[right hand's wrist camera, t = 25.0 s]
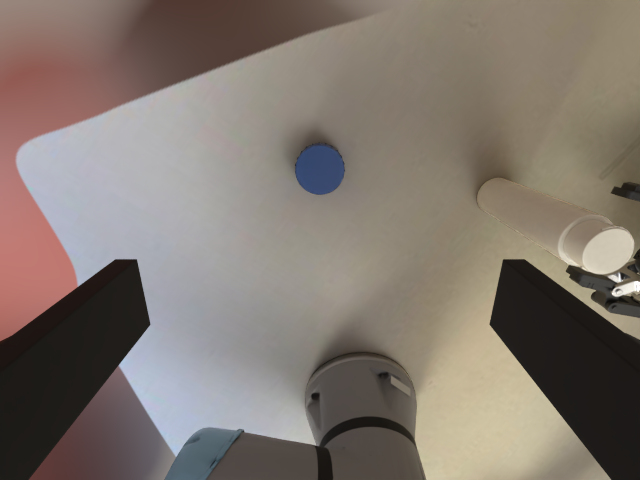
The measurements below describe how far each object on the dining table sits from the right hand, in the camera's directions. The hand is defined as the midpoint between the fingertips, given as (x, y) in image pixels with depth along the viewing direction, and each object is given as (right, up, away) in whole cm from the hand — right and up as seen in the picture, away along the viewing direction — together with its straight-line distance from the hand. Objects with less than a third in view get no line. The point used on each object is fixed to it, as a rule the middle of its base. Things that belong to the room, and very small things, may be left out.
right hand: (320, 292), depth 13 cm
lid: (0, +9, +23) cm, 25 cm away
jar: (+20, +7, +26) cm, 33 cm away
